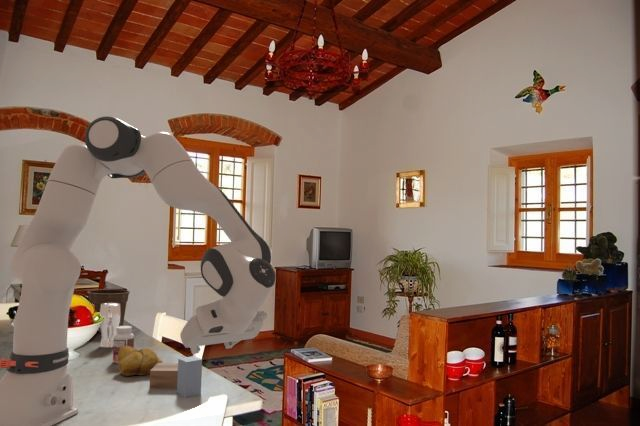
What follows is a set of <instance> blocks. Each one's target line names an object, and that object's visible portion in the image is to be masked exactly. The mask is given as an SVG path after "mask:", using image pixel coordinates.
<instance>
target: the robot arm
mask: <svg viewBox="0 0 640 426" xmlns="http://www.w3.org/2000/svg"><path fill="white" fill-rule="evenodd" d="M84 143H85V144H81V143H76V144H70V145H68V146H66V147H65V148H64V149H63V150H62V152H61V153H60V155H59V157H58V158H57V160H56V161H55V164H54V166H53V168H52V170H51V171H50V174H49V176H48V179H47V182H46V184H45V187H44V190H43V193H42V194H41V198H40V200H39V203H38V206H37V209H36V211H35V213H34V215H33V217H32V219H31V221H30V222H29V225H28V226H27V228H26V229H25V232H24V234H23V236H22V237H21V240H20V242H19V244H18V245H17V248H16V250H15V251H14V253H13V254H12V256H11V258H10V264H9V265H10V270H11V274H12V277H13V278H14V279H15V280H16V281H17V283H19V284H20V285H21V293H20V298H19V302H18V306H17V310H16V313H15V315H14V318H13V319H14V321H13V337H12V338H13V339H12V341H13V342H12V351H11V352H10V354H9V357H8V358H1V359H0V369H5V370H6V372H5V374H4V375H3V376H2V377H1V379H0V426H54V425H56V424H58V423H60V422H62V421H64V420H67V419H68V418H70V417H73V416H75V415H76V414H78V413H79V408H78V406H76V405H75V404H74V386H73V383H74V382H73V376H72V374H71V373H70V371H69V369H68V366H67V365H68V364H69V357H70V353H69V351H70V350H69V347H68V331H69V330H68V327H69V316H70V315H69V314H70V309H71V304H72V300H73V296H74V292H75V287H76V284H77V282H78V280H79V278H80V275H81V271H82V267H81V263H80V259H79V258H78V257H77V255H76V254H75V253H74V252H73V251H72V250H71V248H72V246H73V245H74V243H75V242H76V240H77V237H78V236H79V235H80V233H81V232H82V231H83V230H84V229H85V226H86V225H87V222H88V219H89V216H90V213H91V210H92V207H93V204H94V202H95V198H96V196H97V193H98V191H99V188H100V184H101V183H102V181H103V179H104V178H105V177H107V176H108V177H109V178H110V179H134V178H136V179H137V178H139V177H142V176H145V174H146V175H147V177H148V178H149V180H150V182H151V184H152V186H153V187H154V189H155V191H156V193H157V194H158V196H159V198H161V200H162V201H163V202H164V203H165V204H166V205H168V206H169V207H172V208H174V209H177V210H183V211H191V212H195V213H200V214H204V215H205V216H209V217H211V218H212V219H213V220H214V221H215V222H216V223H217V224H218V227H220V228H221V229H222V231H223V232H224V234H225V236H227V238H228V239H229V240H230V242H228V243H223V244H220V245H217V246H214V247H211V248H208V249H207V250H205V251H204V253H203V254H202V258H201V260H200V274H201V277H202V279H203V280H204V282H205V283H206V284H207V285H208V286H209V287H210V288H211V289H212V290H213V291H214V292H215V293H217V294H218V295H219V296H220V297H221V298H218V299H216V300H213V301H211V302H209V303H206V304H201V305H198V306H197V307H196V308H195V315H193V316H191V317H190V318H189V319H188V320H187V322H186V323H185V325H184V326H183V328H182V330H181V332H180V341H181V343H182V345H183V346H184V348H185V349H188V348H190V352H191V354H192V355H194V354H199V353H200V351H201V348H200V347H202V346H209V345H217V344H222V343H223V345H224V346H225V347H224V348H225V349H232V348H233V347H234V345H236V344H238V343H240V342H241V341H246V340H251V339H254V338H256V337H257V336H258V335H259V333H260V331H261V330H262V327H263V325H264V321H265V320H266V318H267V316H268V314H267V312H265V311H264V310H261V309H262V308H263V306H264V305H265V304H266V302H267V301H268V299H269V298H270V296H271V294H272V292H273V290H274V288H275V285H276V279H277V277H276V272H275V270H274V268H273V266H272V265H271V262H272V252H271V249H270V246H269V244H268V243H267V242H266V241H265V240H264V238H262V237H261V236H260V235H259V234H258V233H257V232H255V230H254V229H253V228H252V227H251V226H250V225H249V223H248V222H247V220H246V219H245V218H244V217H243V215H242V214H241V213H240V211H239V210H238V208H236V207H235V205H234V204H233V203H232V201H231V200H230V199H229V198H228V196H227V195H226V194H225V192H223V191H222V189H221V188H219V187H218V186H216V185H215V184H213V183H212V182H211V181H210V180H209V179H208V178H206V177H205V175H203V174H202V173H201V171H200V169H199V168H198V167H197V166H196V164H195V162H194V161H193V158H192V157H191V156H190V155H189V153H188V152H187V150H186V149H185V148H184V146H183V145H182V144H181V143H180V141H178V140H177V138H176V137H175V136H174V135H173V134H171V133H170V132H166V131H160V132H159V131H158V132H155V133H152V134H150V135H147V136H143V135H142V134H141V131H140V130H139V129H138V128H136V127H134V126H133V125H130V124H129V123H127V122H125V121H123V120H121V119H119V118H117V117H113V116H100V117H97V118H96V119H94V120H92V121H91V122H90V123H89V124H88V126H87V127H86V129H85V133H84Z"/></svg>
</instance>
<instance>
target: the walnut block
mask: <svg viewBox="0 0 640 426" xmlns="http://www.w3.org/2000/svg"><path fill="white" fill-rule="evenodd" d="M177 381H178V362H163V363H157V364H156V365H155V366H154V367H153V368H152V369H151V370H150V373H149V389H153V390H154V389H158V390H159V389H161V390H163V389H164V390H169V389H170V390H177Z"/></svg>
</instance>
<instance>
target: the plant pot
mask: <svg viewBox="0 0 640 426" xmlns="http://www.w3.org/2000/svg"><path fill="white" fill-rule="evenodd" d="M130 293H131V291H130V290H127V289H115V288H113V289H109V288H106V289H104V288H103V289H102V288H101V289H91V290H88V291H87V294H88V301H89V300H90V301H91V302H92V303H93V304H94V305H95V310H96V311H97V312H100V308H101V304H103V303H120V323H119V326H124V323H125V322H124V321H125V315H126V307H127V302H128V300H129V296H130ZM97 333H100V334H101V328H99V331H98V332H97Z"/></svg>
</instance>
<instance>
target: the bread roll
mask: <svg viewBox="0 0 640 426" xmlns="http://www.w3.org/2000/svg"><path fill="white" fill-rule="evenodd" d="M118 359H119V364H118V371H119V373H120V374H121V375H122V376H125V377H130V376H131V377H132V376H135V375H137V376H144V375H145V376H146V375H148V374H149V375H150V370H151V369H152V368H153V367H154V366H155V365H156V364H157V363H164V362H163V360H162V359H161V358H160V357H158V354H157V352H155V350H152V349H149V348H142V349H136V348H135V347H134V348H133V347H130V346H128V345H124V346H122V347H121V348H120V350H119V352H118Z"/></svg>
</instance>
